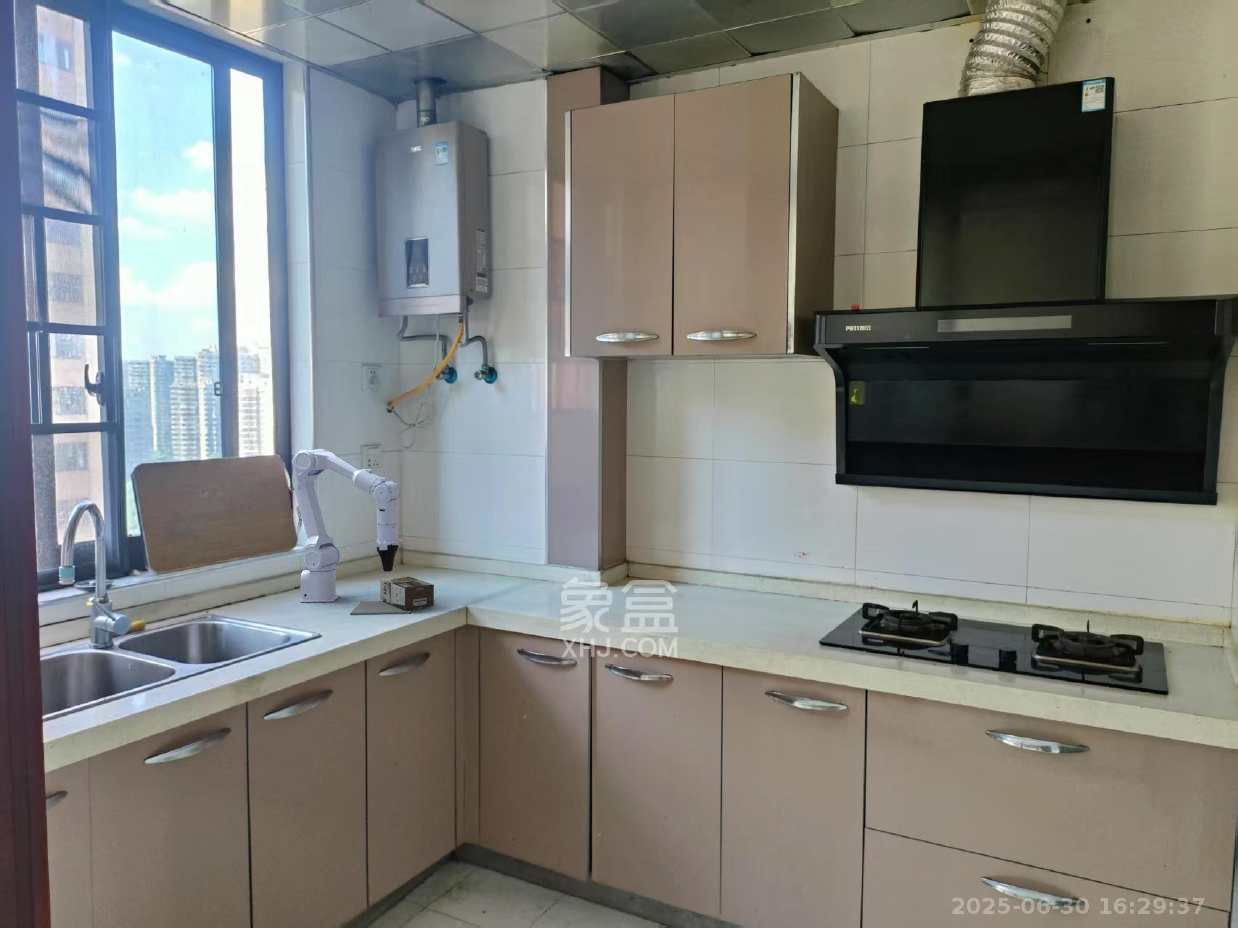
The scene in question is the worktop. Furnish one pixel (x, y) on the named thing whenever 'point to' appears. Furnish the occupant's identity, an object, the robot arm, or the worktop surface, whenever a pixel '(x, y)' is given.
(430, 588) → the coffee box
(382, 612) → the mat
